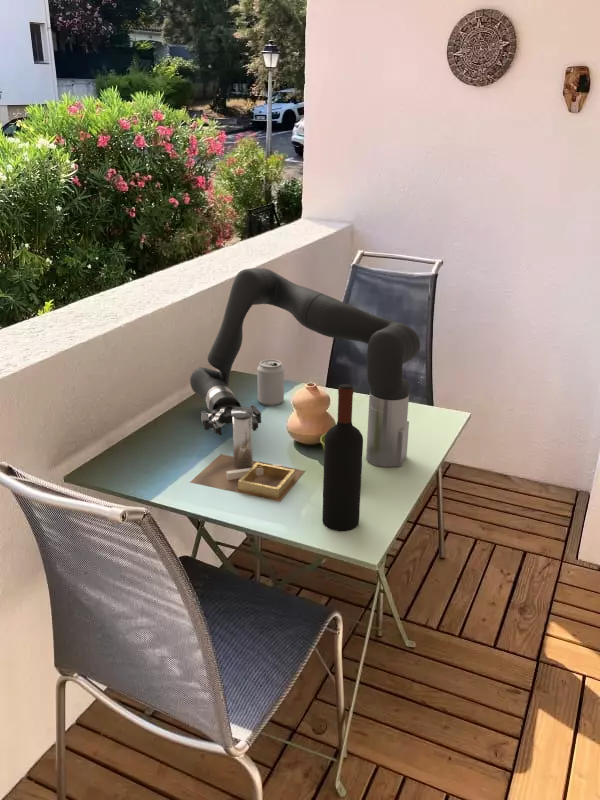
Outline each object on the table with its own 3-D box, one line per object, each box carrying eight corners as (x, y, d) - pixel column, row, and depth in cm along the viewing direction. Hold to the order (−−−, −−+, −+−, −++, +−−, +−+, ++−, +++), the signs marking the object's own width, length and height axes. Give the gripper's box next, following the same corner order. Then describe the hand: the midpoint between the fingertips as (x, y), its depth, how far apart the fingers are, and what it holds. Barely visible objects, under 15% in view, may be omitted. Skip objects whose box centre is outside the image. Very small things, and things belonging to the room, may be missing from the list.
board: (305, 474, 168) (305, 470, 168) (280, 505, 155) (280, 501, 155) (220, 457, 175) (220, 454, 175) (190, 485, 163) (189, 482, 162)
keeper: (295, 479, 164) (295, 469, 163) (278, 499, 156) (278, 489, 155) (256, 471, 167) (256, 462, 166) (238, 490, 159) (238, 481, 158)
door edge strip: (226, 477, 164) (226, 471, 164) (281, 469, 168) (281, 463, 168) (227, 480, 163) (227, 473, 163) (282, 471, 167) (282, 465, 166)
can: (283, 406, 205) (283, 367, 200) (256, 406, 205) (256, 366, 200) (284, 396, 212) (284, 358, 207) (258, 396, 212) (258, 357, 207)
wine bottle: (317, 527, 148) (320, 390, 136) (329, 509, 154) (333, 377, 143) (352, 534, 145) (359, 396, 134) (363, 516, 152) (370, 382, 140)
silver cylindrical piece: (257, 462, 171) (256, 408, 166) (248, 471, 167) (247, 417, 162) (238, 458, 173) (237, 405, 168) (229, 467, 169) (227, 413, 163)
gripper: (194, 393, 182) (207, 418, 168) (249, 387, 187) (266, 411, 172) (195, 420, 185) (208, 447, 171) (249, 414, 190) (266, 439, 175)
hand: (237, 429), depth 172 cm, fingers open, 8 cm apart
